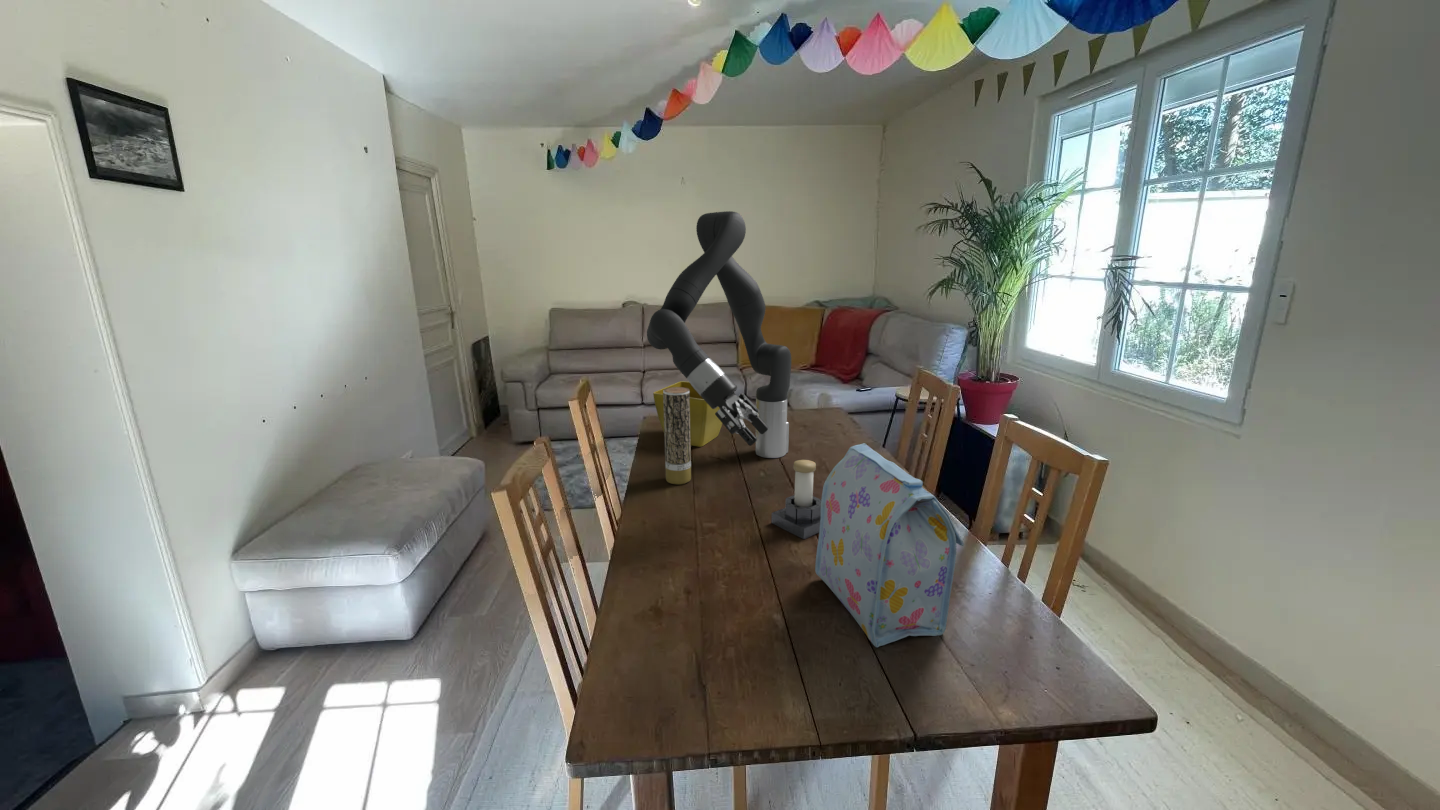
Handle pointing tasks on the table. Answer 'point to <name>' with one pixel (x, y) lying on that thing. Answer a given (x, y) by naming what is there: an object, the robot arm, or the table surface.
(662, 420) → the flower pot
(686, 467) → the paper tube
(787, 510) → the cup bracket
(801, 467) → the white beige cylinder
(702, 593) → the table surface
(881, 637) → the lunch bag
